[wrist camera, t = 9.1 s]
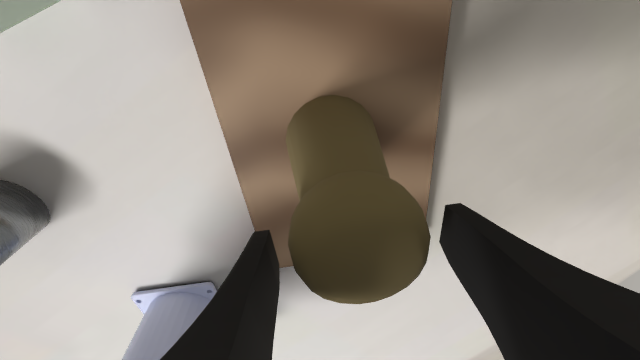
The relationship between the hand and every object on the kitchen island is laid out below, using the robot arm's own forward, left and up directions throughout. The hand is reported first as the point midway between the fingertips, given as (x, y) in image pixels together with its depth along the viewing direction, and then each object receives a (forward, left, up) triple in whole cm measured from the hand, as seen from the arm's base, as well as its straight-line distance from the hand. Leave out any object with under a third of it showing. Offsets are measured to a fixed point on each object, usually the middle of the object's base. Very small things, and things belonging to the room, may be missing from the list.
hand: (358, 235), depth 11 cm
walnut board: (0, 0, -10) cm, 10 cm away
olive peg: (+1, 0, -9) cm, 9 cm away
